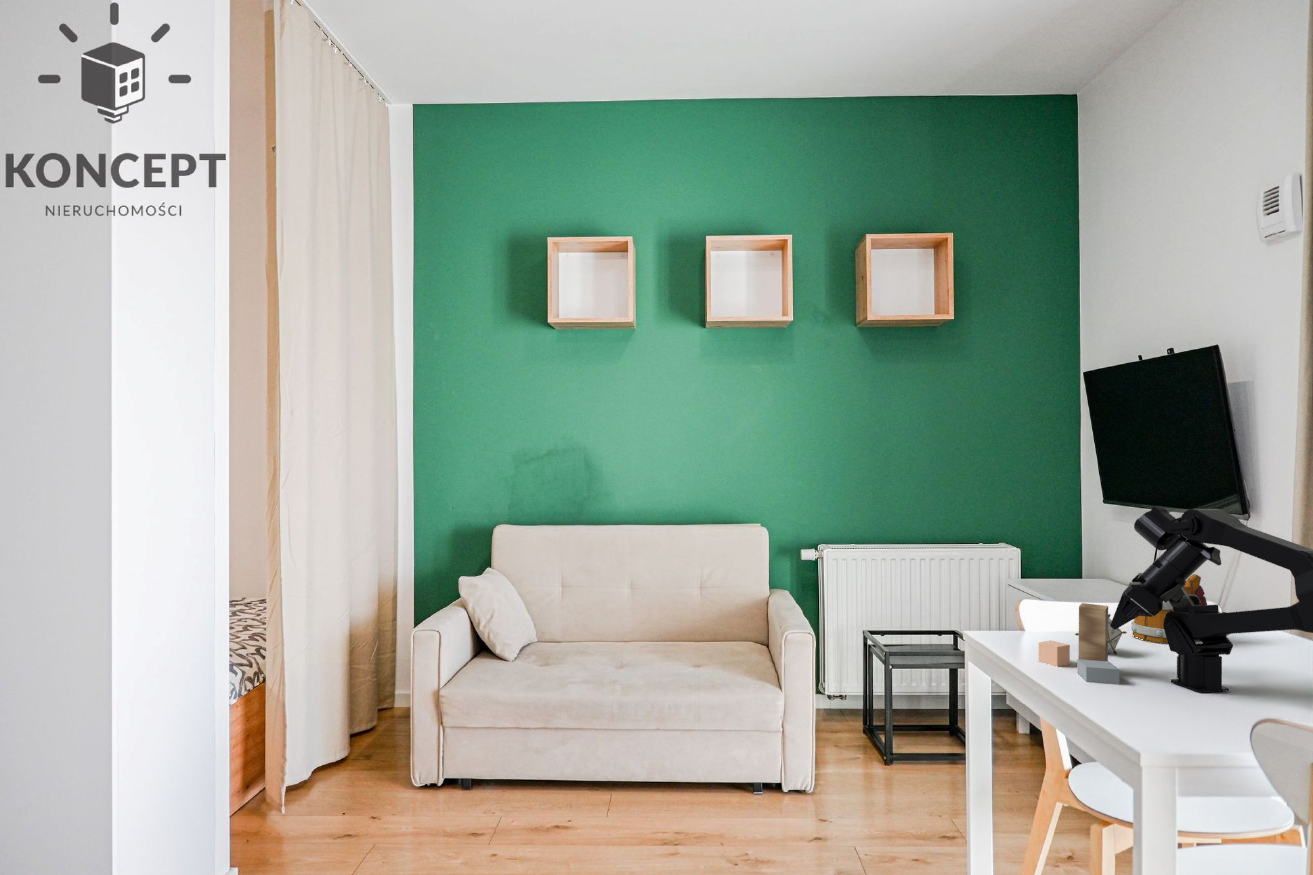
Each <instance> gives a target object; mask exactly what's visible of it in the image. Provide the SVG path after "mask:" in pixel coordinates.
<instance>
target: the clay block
mask: <svg viewBox="0 0 1313 875" xmlns="http://www.w3.org/2000/svg"><path fill="white" fill-rule="evenodd" d="M1070 648H1071V645H1070V644H1068V643H1064V642H1060V641H1055V640H1047V641H1046V640H1045V641H1040V642H1038V662H1039V663H1041V662H1042V663H1041V664H1044V663H1045V664H1046V665H1048V664H1050V665H1049V666H1052V667H1056V666H1059V667H1064V666H1068V665H1067V664H1069V665H1071V664H1070V661H1071V660H1070V657H1071V656H1070V654H1071V651H1070V650H1071V649H1070ZM1045 664H1044V665H1045Z"/></svg>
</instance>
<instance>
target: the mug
mask: <svg viewBox="0 0 1313 875" xmlns="http://www.w3.org/2000/svg"><path fill="white" fill-rule="evenodd" d="M1201 580H1202V577H1201V576H1200V575H1198V574H1195V573H1193V574H1192V575H1191V576H1190V577H1189V578H1188V579H1187V580H1186V584H1185V585H1184V586H1183V588H1184V589H1185V591H1187V593H1188V594H1192V595H1197V597H1198V598H1199V600H1200V601H1201V603H1200V604H1199V605H1208V602H1207V599H1206V598H1207V597H1205V591H1204V589H1203V586H1201ZM1171 611H1174V610H1173V607H1172V605H1171V604H1170V602H1169V601H1168V602H1167V603H1165V602H1164V601H1163V609H1162V610H1161V611H1160V612H1159V613H1158V614H1157V615H1156V616H1153V617H1149V616H1138V617H1136V618H1135V619H1133V620H1131V621H1130V622H1131V623H1130V624H1131V626H1130V627H1131V628H1130V629H1131V631H1132V634H1133V635H1134V636H1135V637H1138V638H1140V639H1143V640H1142V641H1146V642H1148V641H1151V642H1150V643H1156V644H1160V643H1162V644H1165V645H1169V644H1168V641H1167V637H1166V634H1165V631H1164V626H1163V625H1164V618H1165V617H1166V614H1167V613H1168V612H1171ZM1135 637H1134V638H1135ZM1140 639H1139V640H1140Z"/></svg>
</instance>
